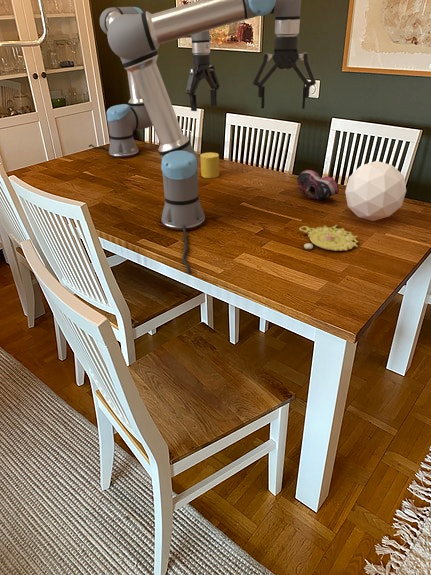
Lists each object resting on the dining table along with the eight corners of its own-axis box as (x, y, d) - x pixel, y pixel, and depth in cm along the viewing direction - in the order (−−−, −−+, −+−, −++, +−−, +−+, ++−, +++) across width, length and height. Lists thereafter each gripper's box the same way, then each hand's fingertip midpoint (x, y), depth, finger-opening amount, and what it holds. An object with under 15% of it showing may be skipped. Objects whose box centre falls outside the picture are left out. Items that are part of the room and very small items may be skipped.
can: (201, 172, 202) (200, 152, 197) (218, 171, 202) (218, 152, 197) (201, 178, 195) (200, 158, 190) (219, 177, 195) (219, 157, 190)
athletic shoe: (306, 169, 182) (282, 176, 178) (340, 163, 162) (313, 171, 158) (311, 196, 184) (288, 204, 181) (345, 193, 165) (320, 202, 161)
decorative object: (343, 255, 128) (285, 234, 139) (342, 262, 130) (284, 241, 140) (372, 230, 142) (317, 213, 152) (371, 237, 143) (316, 219, 153)
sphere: (378, 240, 155) (398, 211, 136) (328, 211, 159) (341, 179, 141) (404, 201, 160) (427, 168, 141) (355, 174, 164) (371, 139, 145)
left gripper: (188, 57, 174) (191, 114, 185) (226, 51, 190) (228, 104, 201) (174, 56, 178) (178, 112, 189) (213, 51, 194) (215, 103, 205)
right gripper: (327, 34, 139) (320, 105, 150) (248, 35, 143) (247, 105, 154) (328, 35, 133) (320, 110, 144) (245, 37, 137) (244, 109, 148)
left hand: (204, 108), depth 195 cm, fingers open, 13 cm apart
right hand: (282, 107), depth 149 cm, fingers open, 13 cm apart
